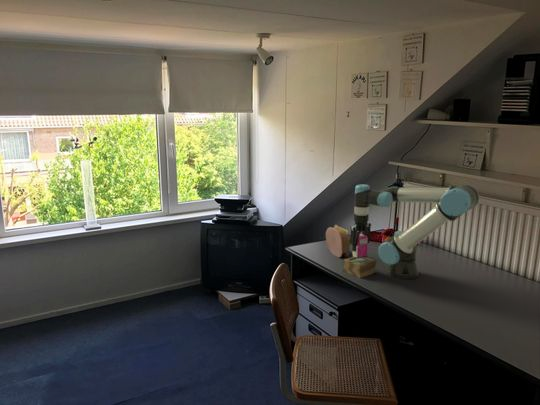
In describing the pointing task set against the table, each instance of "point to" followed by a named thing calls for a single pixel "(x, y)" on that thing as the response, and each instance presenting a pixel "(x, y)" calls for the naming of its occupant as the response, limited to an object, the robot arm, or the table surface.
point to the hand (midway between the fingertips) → (359, 255)
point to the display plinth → (359, 266)
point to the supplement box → (362, 246)
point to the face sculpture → (338, 241)
